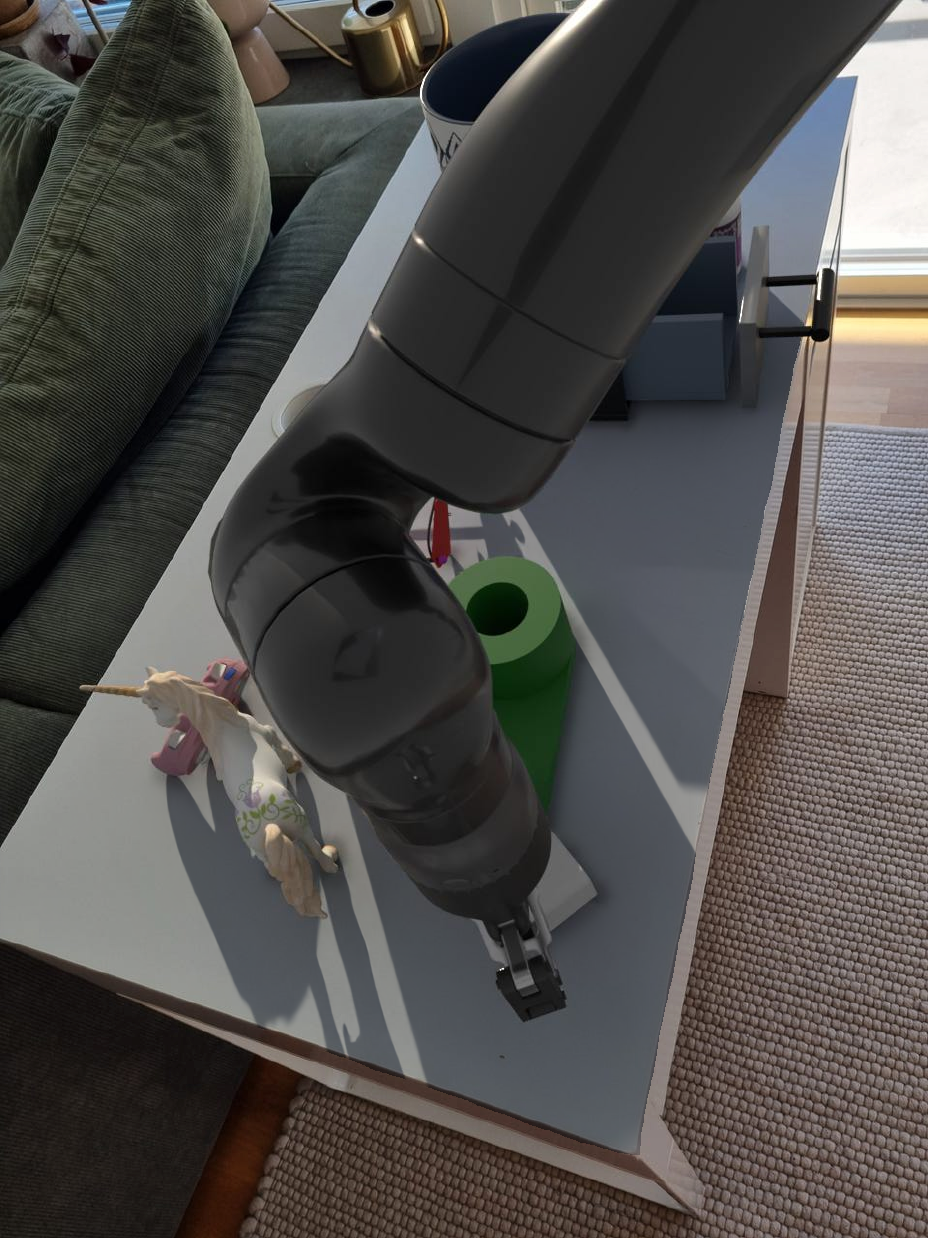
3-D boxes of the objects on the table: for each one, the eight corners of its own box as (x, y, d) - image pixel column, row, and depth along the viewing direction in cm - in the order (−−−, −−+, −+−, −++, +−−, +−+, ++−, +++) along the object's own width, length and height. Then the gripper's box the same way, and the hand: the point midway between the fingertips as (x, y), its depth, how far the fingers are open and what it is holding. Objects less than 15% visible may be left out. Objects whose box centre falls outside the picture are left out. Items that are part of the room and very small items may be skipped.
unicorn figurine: (247, 704, 75) (160, 613, 64) (403, 857, 64) (331, 779, 54) (178, 769, 73) (77, 686, 62) (328, 938, 63) (237, 873, 52)
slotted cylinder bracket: (472, 603, 75) (450, 555, 69) (584, 607, 72) (570, 557, 66) (418, 817, 66) (389, 781, 60) (543, 833, 63) (523, 796, 57)
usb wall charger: (598, 897, 59) (589, 877, 56) (511, 966, 58) (496, 950, 55) (561, 849, 62) (549, 827, 58) (476, 915, 61) (460, 896, 58)
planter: (553, 152, 106) (523, -4, 93) (671, 201, 95) (656, 33, 82) (431, 243, 103) (382, 94, 89) (540, 304, 92) (502, 146, 79)
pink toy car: (200, 795, 73) (192, 774, 67) (148, 769, 73) (134, 746, 67) (263, 688, 77) (260, 658, 71) (213, 664, 77) (206, 632, 71)
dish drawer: (832, 310, 80) (839, 219, 73) (824, 407, 75) (830, 319, 68) (616, 319, 87) (602, 236, 80) (594, 409, 81) (577, 329, 74)
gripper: (583, 927, 40) (622, 1014, 53) (491, 666, 49) (544, 795, 62) (419, 986, 40) (498, 1058, 53) (357, 716, 49) (437, 834, 62)
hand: (522, 917), depth 57 cm, fingers open, 8 cm apart
